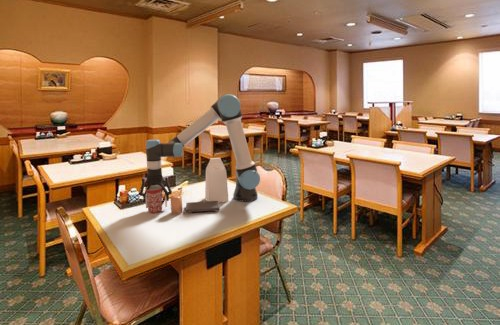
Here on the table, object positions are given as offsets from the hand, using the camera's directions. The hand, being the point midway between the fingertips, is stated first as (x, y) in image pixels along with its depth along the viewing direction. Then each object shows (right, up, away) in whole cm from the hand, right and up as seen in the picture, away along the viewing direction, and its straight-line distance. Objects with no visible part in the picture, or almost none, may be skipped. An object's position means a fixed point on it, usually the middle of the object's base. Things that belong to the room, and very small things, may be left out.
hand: (156, 206), depth 181 cm
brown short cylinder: (+12, -3, -4) cm, 13 cm away
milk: (+32, +2, +18) cm, 37 cm away
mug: (+1, -2, +1) cm, 2 cm away
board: (+25, -2, +2) cm, 26 cm away
